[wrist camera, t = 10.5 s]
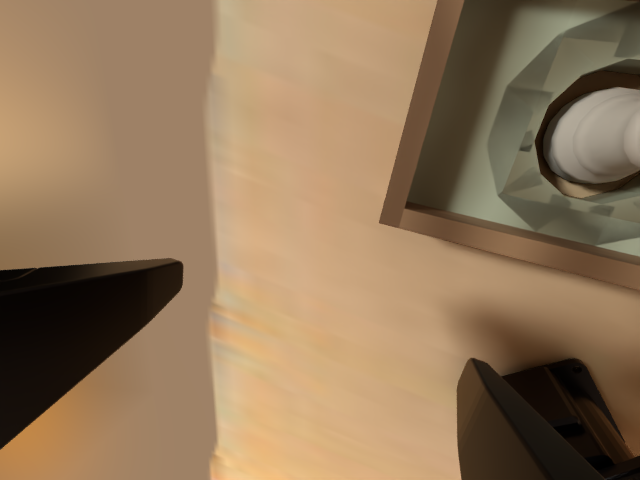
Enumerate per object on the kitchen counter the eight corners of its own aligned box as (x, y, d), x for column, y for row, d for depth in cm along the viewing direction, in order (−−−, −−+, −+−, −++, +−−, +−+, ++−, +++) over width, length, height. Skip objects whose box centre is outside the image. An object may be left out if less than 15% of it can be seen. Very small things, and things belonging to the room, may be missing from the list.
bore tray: (929, 21, 12) (1208, -50, 8) (733, 292, 16) (847, 343, 12) (447, -20, 16) (459, -81, 11) (386, 207, 20) (378, 223, 15)
